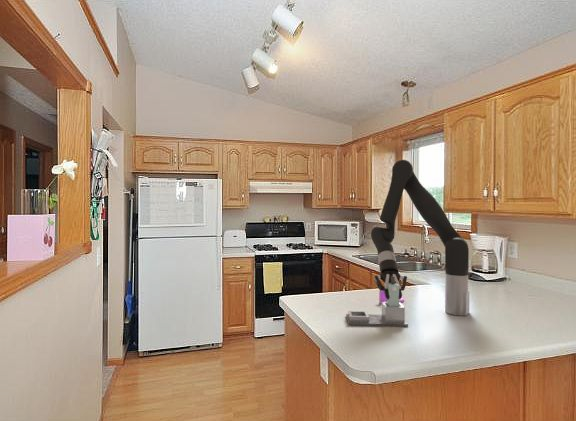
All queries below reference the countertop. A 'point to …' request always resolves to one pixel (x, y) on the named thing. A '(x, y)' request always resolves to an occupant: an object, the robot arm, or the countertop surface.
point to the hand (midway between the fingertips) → (394, 298)
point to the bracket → (383, 299)
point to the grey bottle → (393, 293)
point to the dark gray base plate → (379, 317)
